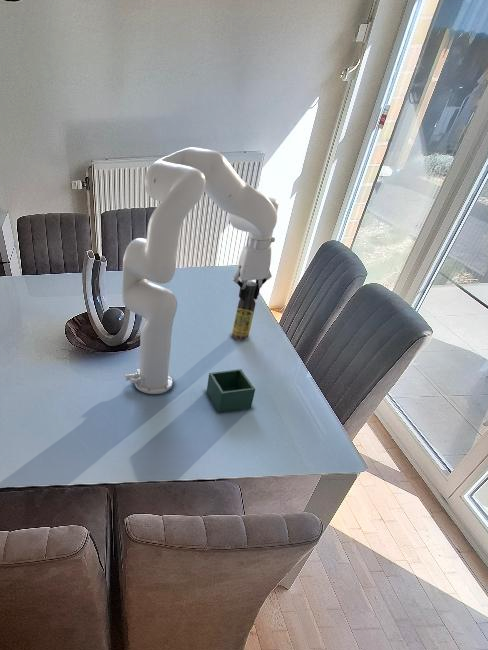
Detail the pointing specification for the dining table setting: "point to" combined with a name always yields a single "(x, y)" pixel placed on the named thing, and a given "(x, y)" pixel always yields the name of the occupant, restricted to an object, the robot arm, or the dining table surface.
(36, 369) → the dining table surface
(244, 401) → the dark green storage bin
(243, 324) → the sauce bottle
